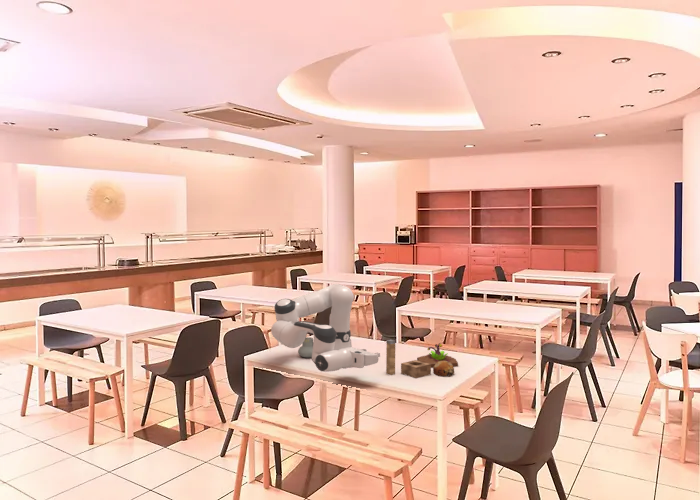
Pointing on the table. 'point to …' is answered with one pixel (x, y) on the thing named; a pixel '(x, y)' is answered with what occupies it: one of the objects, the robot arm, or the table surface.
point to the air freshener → (306, 348)
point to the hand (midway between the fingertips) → (372, 352)
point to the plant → (437, 357)
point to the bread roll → (443, 369)
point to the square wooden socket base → (415, 369)
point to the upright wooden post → (390, 357)
